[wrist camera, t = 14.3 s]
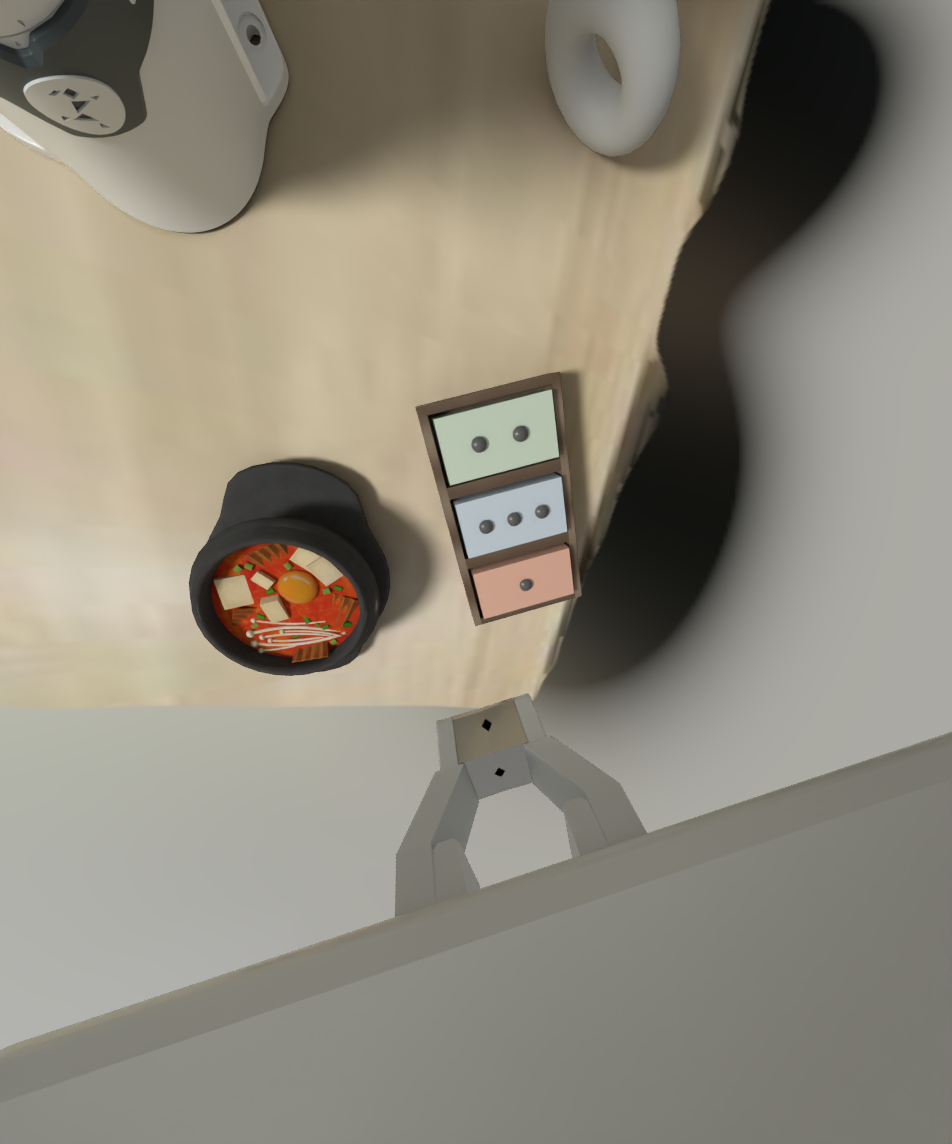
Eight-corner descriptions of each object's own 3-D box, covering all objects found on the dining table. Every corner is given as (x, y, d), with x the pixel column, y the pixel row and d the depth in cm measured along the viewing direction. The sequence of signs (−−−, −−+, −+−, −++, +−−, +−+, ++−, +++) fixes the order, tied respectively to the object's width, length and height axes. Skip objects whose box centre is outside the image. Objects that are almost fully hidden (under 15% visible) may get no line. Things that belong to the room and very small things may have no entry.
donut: (630, 153, 30) (724, 52, 21) (600, 194, 31) (678, 113, 22) (549, 15, 26) (623, -181, 17) (517, 66, 27) (571, -95, 18)
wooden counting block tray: (415, 406, 35) (416, 408, 32) (546, 373, 36) (559, 372, 33) (470, 610, 47) (475, 626, 44) (570, 582, 47) (581, 595, 44)
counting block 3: (468, 562, 42) (473, 575, 39) (558, 537, 43) (570, 549, 40) (479, 604, 45) (484, 620, 42) (563, 580, 46) (575, 594, 43)
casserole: (387, 662, 48) (383, 711, 41) (229, 662, 44) (193, 716, 37) (395, 469, 38) (392, 488, 30) (190, 448, 34) (128, 463, 26)
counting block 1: (431, 417, 35) (433, 419, 32) (539, 389, 36) (552, 389, 32) (446, 478, 38) (450, 486, 35) (547, 451, 38) (560, 457, 35)
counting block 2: (451, 496, 39) (455, 505, 36) (549, 470, 39) (562, 477, 36) (464, 547, 42) (469, 559, 38) (556, 522, 42) (568, 532, 39)
